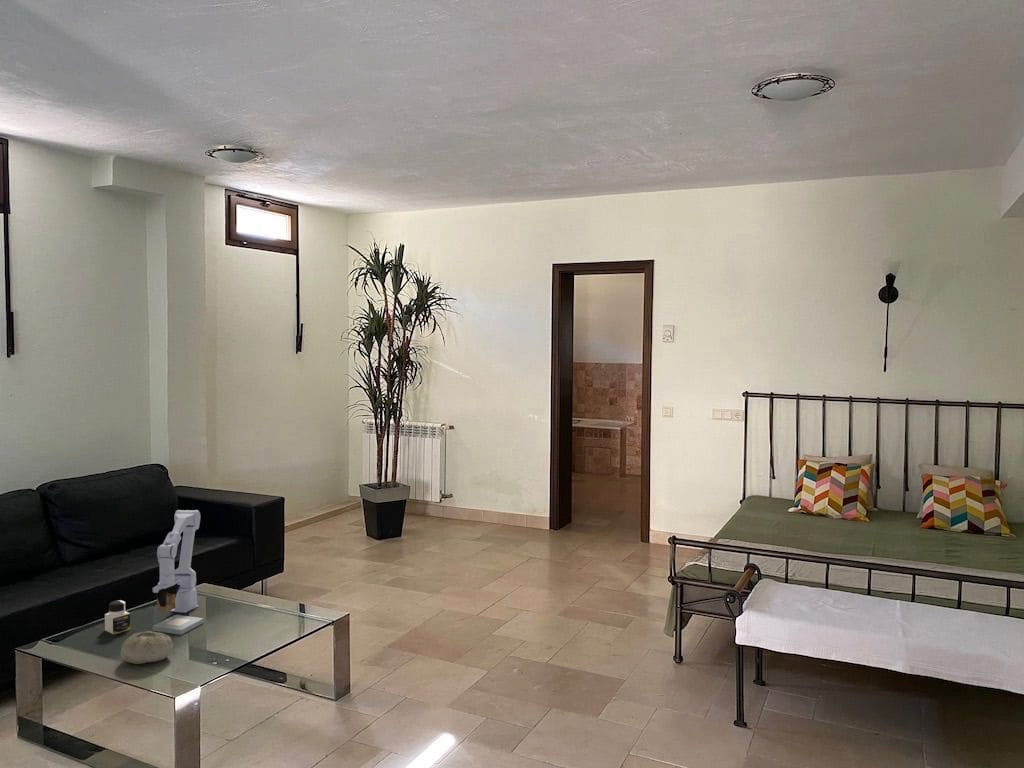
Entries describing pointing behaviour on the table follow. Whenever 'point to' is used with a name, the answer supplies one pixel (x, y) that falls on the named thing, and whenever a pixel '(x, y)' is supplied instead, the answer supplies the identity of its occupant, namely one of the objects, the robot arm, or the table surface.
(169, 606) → the walnut block
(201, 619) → the base board
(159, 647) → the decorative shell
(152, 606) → the table surface
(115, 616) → the medicine bottle
